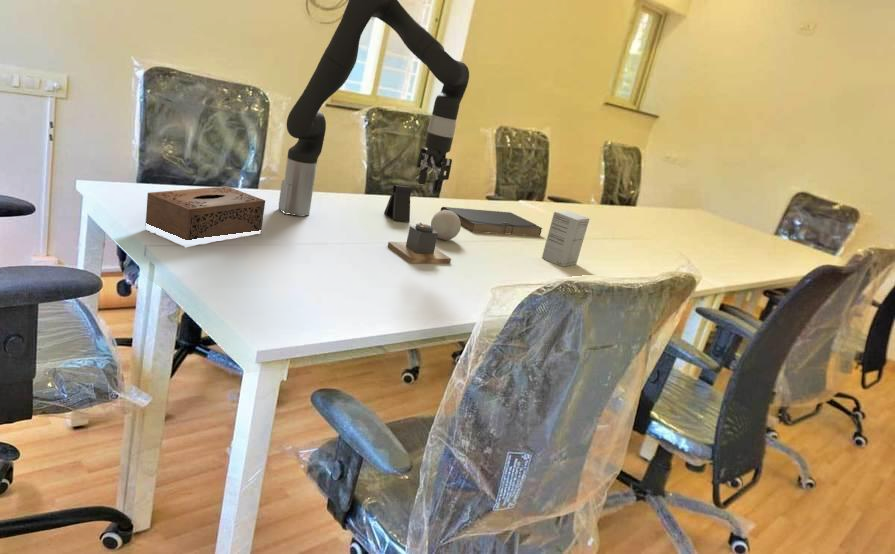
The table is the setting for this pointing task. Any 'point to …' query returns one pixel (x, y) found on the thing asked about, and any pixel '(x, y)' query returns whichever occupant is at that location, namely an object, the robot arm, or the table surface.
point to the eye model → (446, 224)
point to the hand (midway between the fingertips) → (428, 188)
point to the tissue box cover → (204, 212)
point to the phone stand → (399, 204)
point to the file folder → (494, 221)
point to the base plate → (418, 258)
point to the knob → (422, 239)
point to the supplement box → (565, 238)
